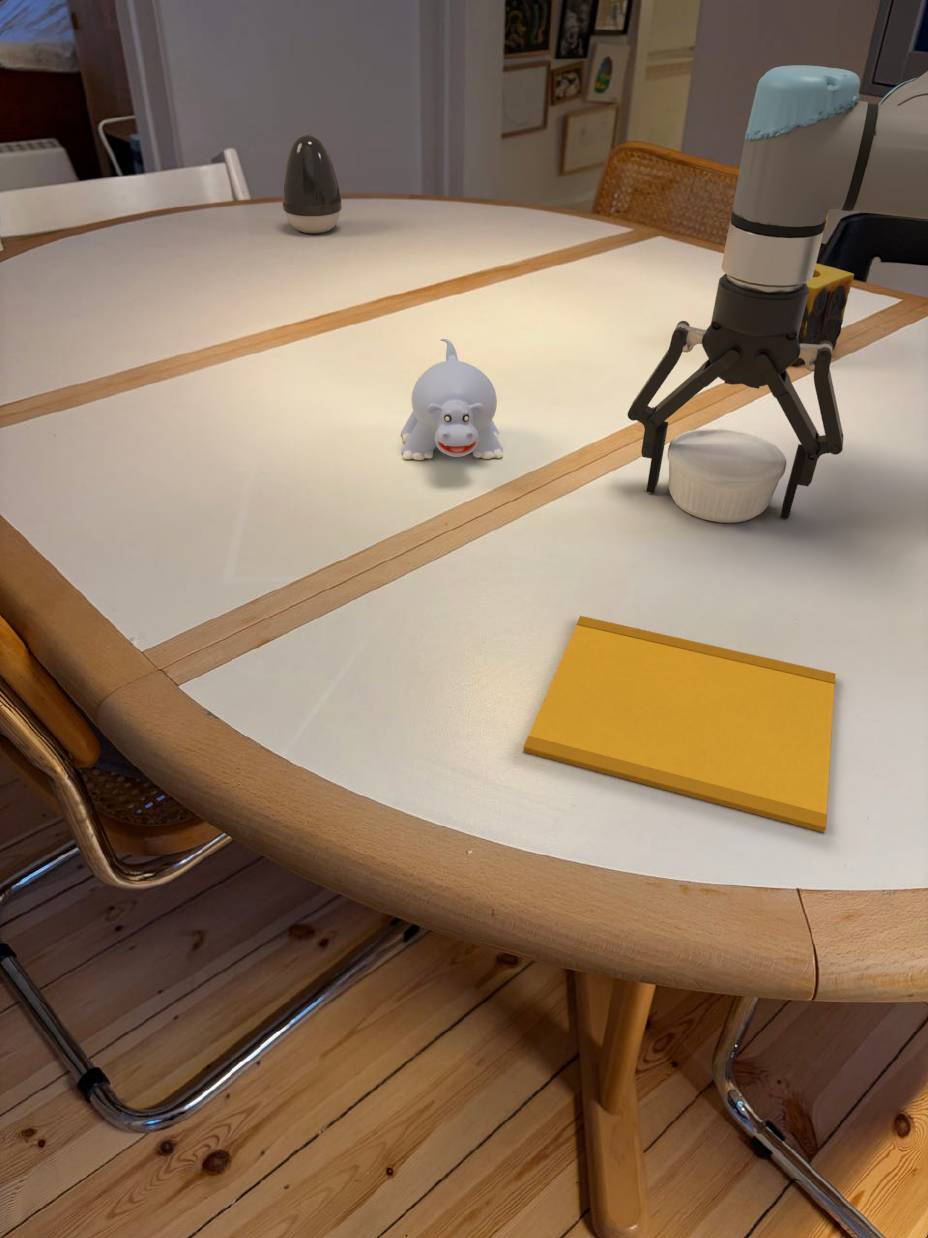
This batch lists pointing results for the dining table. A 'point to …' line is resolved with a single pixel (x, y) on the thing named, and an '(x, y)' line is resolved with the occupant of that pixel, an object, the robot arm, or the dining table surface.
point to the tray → (692, 720)
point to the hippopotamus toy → (452, 412)
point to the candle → (824, 306)
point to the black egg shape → (310, 187)
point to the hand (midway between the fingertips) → (717, 498)
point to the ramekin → (723, 474)
